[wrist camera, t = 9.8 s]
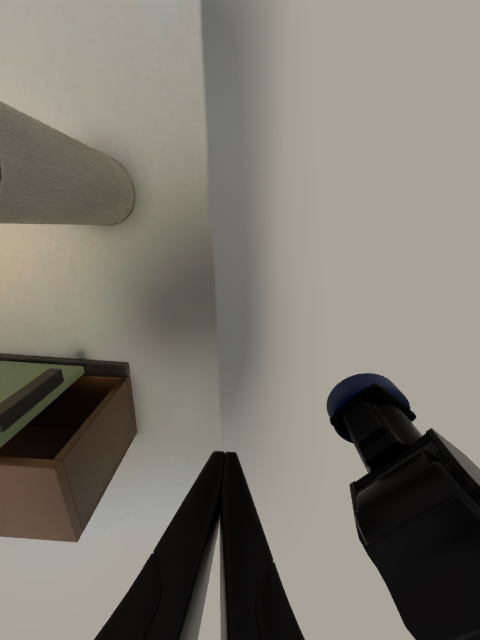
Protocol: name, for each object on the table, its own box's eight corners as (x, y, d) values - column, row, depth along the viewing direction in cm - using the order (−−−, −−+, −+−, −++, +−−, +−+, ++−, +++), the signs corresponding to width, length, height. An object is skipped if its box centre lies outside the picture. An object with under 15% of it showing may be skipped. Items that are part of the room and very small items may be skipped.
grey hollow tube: (131, 155, 17) (-30, 56, 7) (138, 226, 18) (16, 224, 9) (66, 153, 17) (-182, 53, 7) (79, 223, 18) (-107, 220, 9)
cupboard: (128, 362, 23) (49, 451, 14) (137, 432, 26) (77, 542, 17) (-33, 351, 23) (-215, 432, 14) (-5, 422, 26) (-139, 526, 17)
